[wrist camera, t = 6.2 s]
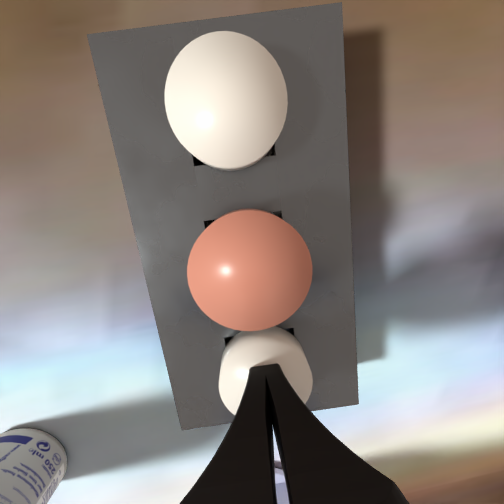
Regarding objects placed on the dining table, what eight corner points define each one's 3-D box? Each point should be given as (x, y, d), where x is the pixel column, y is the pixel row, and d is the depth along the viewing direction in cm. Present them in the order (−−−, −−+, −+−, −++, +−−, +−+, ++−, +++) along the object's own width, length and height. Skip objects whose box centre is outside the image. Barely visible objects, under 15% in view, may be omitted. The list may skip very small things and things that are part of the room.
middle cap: (294, 284, 13) (316, 322, 9) (211, 295, 13) (199, 339, 9) (285, 199, 12) (307, 202, 8) (196, 212, 12) (175, 220, 8)
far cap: (297, 362, 16) (316, 417, 12) (230, 372, 16) (226, 430, 12) (291, 299, 15) (308, 336, 11) (219, 309, 15) (211, 350, 11)
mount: (338, 368, 17) (358, 404, 14) (191, 389, 17) (181, 430, 14) (318, 46, 13) (341, 2, 10) (122, 71, 13) (86, 34, 10)
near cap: (277, 169, 14) (293, 158, 10) (196, 180, 14) (177, 174, 10) (268, 77, 13) (280, 23, 9) (180, 88, 13) (152, 39, 9)
